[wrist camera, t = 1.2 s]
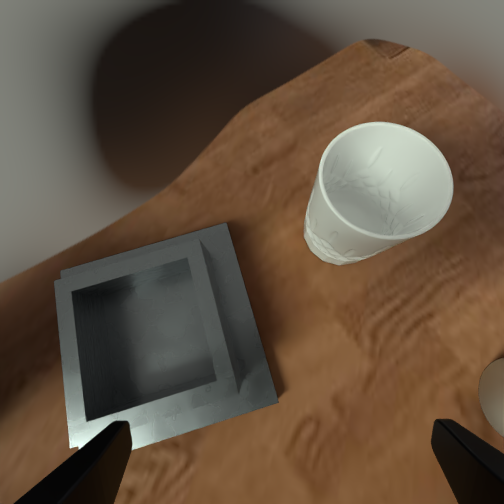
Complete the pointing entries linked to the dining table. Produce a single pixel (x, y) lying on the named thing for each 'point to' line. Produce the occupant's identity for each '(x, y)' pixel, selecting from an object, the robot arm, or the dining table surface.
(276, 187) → the dining table surface
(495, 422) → the white paper towel roll
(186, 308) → the square open box
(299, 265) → the dining table surface
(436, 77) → the dining table surface
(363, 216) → the white cup
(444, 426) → the robot arm
